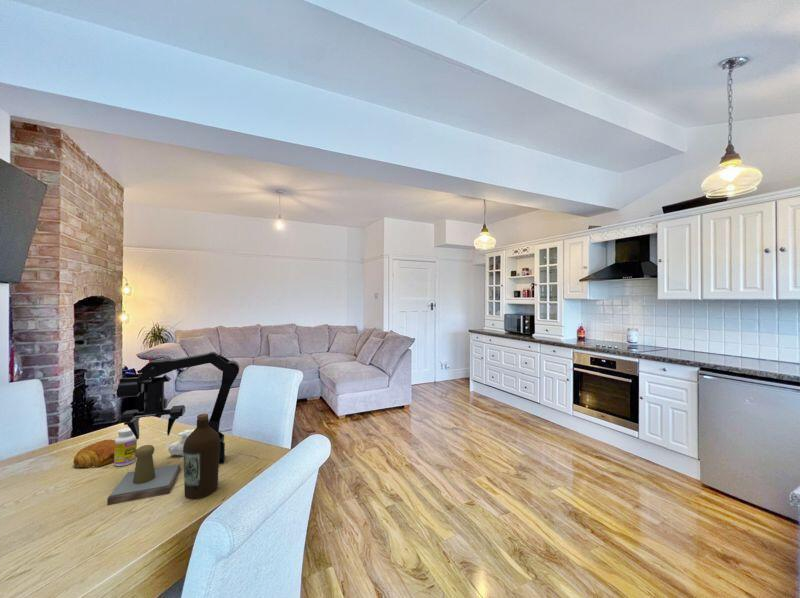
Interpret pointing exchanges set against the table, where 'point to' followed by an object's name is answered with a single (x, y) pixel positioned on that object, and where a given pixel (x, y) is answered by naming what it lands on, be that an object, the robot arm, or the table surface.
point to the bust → (179, 443)
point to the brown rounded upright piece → (144, 465)
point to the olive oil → (201, 460)
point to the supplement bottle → (125, 447)
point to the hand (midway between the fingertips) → (153, 437)
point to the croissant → (96, 454)
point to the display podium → (145, 485)
